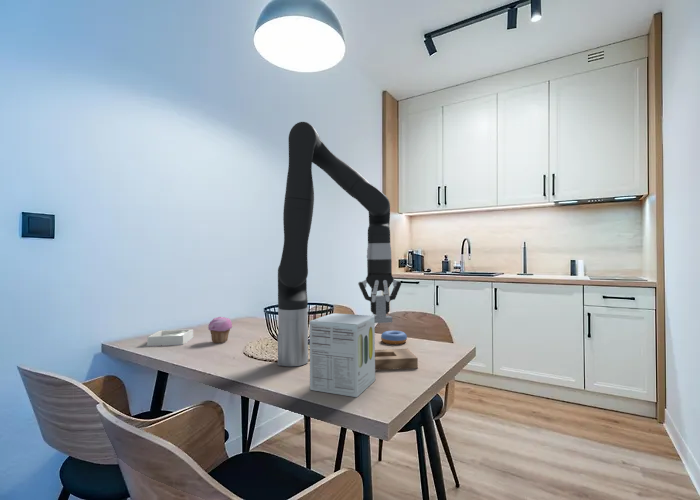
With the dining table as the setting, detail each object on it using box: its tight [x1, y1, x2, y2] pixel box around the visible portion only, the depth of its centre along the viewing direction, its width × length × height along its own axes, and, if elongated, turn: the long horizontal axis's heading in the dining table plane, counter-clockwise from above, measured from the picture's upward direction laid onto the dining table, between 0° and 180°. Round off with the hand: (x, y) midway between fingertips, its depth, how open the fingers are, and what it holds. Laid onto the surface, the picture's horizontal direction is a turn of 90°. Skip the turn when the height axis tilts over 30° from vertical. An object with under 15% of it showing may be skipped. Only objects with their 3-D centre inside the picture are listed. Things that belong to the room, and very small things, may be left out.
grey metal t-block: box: [373, 294, 393, 324], centre depth 113 cm, size 7×3×8 cm, turn 97°
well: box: [375, 348, 419, 371], centre depth 112 cm, size 20×11×3 cm, turn 96°
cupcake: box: [207, 316, 233, 344], centre depth 143 cm, size 9×9×10 cm
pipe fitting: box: [164, 331, 186, 336], centre depth 145 cm, size 8×4×7 cm
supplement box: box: [309, 312, 376, 398], centre depth 95 cm, size 13×13×18 cm
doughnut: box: [380, 330, 408, 345], centre depth 141 cm, size 10×10×5 cm
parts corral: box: [146, 328, 194, 347], centre depth 145 cm, size 13×12×4 cm
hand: (380, 313), depth 112 cm, fingers closed on grey metal t-block, 3 cm apart
